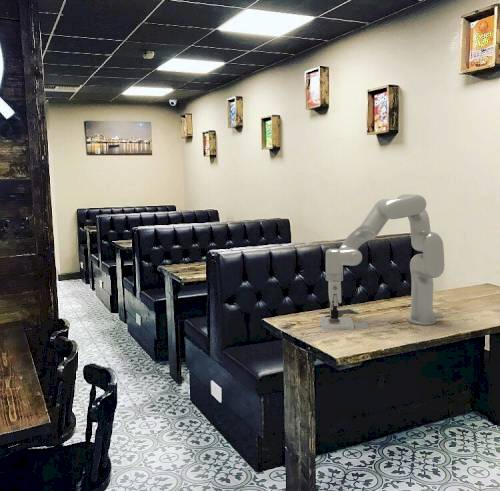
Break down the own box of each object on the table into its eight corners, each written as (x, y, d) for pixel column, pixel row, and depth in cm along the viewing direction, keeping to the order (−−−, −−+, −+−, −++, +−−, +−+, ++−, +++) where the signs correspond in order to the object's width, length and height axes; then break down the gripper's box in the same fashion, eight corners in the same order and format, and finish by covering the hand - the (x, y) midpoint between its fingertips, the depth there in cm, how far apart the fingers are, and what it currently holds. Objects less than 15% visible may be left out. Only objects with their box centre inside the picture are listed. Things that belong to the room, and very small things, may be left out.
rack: (366, 324, 231) (366, 316, 230) (370, 332, 219) (370, 324, 218) (319, 324, 233) (319, 316, 232) (321, 332, 221) (321, 323, 220)
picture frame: (329, 324, 236) (367, 319, 243) (329, 318, 235) (367, 313, 242) (313, 316, 250) (350, 312, 257) (313, 310, 250) (350, 306, 257)
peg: (337, 317, 227) (337, 302, 226) (338, 319, 224) (338, 304, 223) (329, 317, 228) (329, 302, 227) (330, 319, 224) (330, 304, 223)
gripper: (344, 280, 215) (344, 322, 217) (341, 273, 231) (341, 312, 233) (326, 280, 216) (326, 322, 218) (324, 273, 232) (324, 312, 234)
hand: (334, 316), depth 226 cm, fingers closed on peg, 3 cm apart
